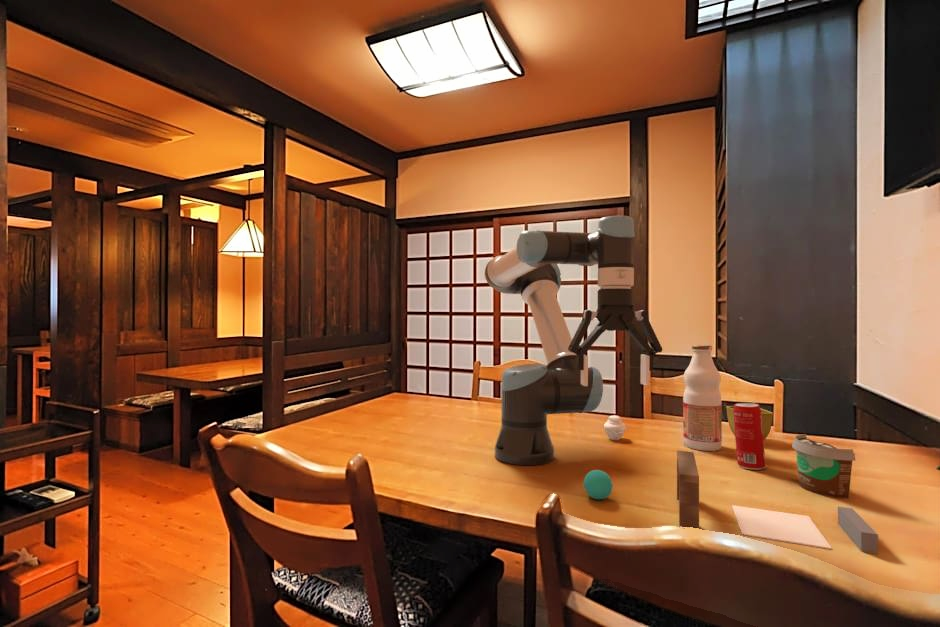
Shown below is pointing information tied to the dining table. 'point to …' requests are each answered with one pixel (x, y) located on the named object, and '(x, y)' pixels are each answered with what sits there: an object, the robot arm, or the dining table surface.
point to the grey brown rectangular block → (687, 489)
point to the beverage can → (749, 436)
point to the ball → (598, 484)
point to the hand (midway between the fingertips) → (614, 385)
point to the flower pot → (766, 420)
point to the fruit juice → (702, 402)
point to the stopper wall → (858, 530)
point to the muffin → (614, 427)
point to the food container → (823, 467)
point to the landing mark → (779, 526)
